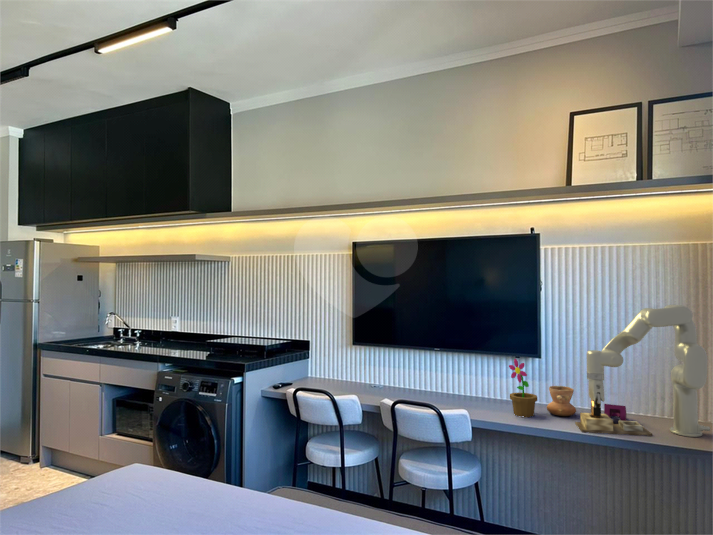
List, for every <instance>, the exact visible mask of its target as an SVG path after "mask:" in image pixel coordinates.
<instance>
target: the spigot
mask: <svg viewBox="0 0 713 535" xmlns="http://www.w3.org/2000/svg"><path fill="white" fill-rule="evenodd" d="M595 401H597V400H595ZM596 403H597V402H596ZM593 407H594V401H593V400H591V399H590V413H591V418H601V416H594V411H593Z"/></svg>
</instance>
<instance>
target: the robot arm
mask: <svg viewBox="0 0 713 535" xmlns="http://www.w3.org/2000/svg"><path fill="white" fill-rule="evenodd" d="M664 327H673V329H674V351H673V352H674V356H675V358H676V359H678V361H679V362H680V361H681V362H683V363H682V364H677V365H674V367H673V368H672V369H671V371H670V380H671V386H672V406H673V408H672V409H673V426H671V427H669V431H670V432H671V433H672V434H675V435H679V436H683V437H690V438H693V437H694V438H698V437H702V436H703V431H706V432H710V431H711V427H710V426H705V425H703V424H702V425H701V424H699V411H698V410H699V408H698V406H699V404H698V403H699V402H698V392H697V390H700V389H702V388H704V386H705V385H706V384H707V379H708V360H709V359H708V353H707V352H706V350H705V348H704V347H703V346H702V345H700V344H698V342H697V341H698V338H697V337H698V336H697V327H696V324H695V323H694V320H693V311H692V310H691V309H690V307H688V306H685V305H679V304H667V305H665V306H664V307H661V308H652V307H646V308H643V309H641V310H640V311H639V312H637V314H636V315H635V317H634V318H632V320H631V321H630V322H629V323H628V324H627V326H625V327H624V329H623V330H622V331H620V332H619V333H618V334H616V336H614V337H613V338H612V339H610V341H609V342H608V343H607V344H606V345H605V346H604V347H603V348H602V350H595V349H593V350H587V351H586V380H588V397H589V399H590V401H591V400H593V401H594V407H593V411H594V416H601V414H602V402H605V387H604V381H605V367H609V368H619V367H622V365H623V363H624V357H623V355H622V354H621V353H622V352H623V351H625V350H626V349H627V348H629V347H631V346H633V345H634V346H635V345H636V344H639V343H640V342H641V341H643V339H644V338H645V337H646V335H647V334H648V333H649V332H650V331H651V330H652V329H653V328H664ZM595 400H597V401H595ZM596 402H597V403H596Z"/></svg>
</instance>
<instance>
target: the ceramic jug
mask: <svg viewBox="0 0 713 535" xmlns="http://www.w3.org/2000/svg"><path fill="white" fill-rule="evenodd" d="M548 390H549V394H550V397H551V399H552V401H551V402H549V403H548V404H547V405H546V410H547V411H548V412H549V413H550V414H552V415H555V416H558V417H570V416H573V415H575V414H576V413H577V408H576V407H575V406H574V405H573V404H572V403H571V400H572V398H573V394H574V388H572V387H568V386H564V385H550V386H549V387H548Z"/></svg>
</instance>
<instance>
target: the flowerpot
mask: <svg viewBox="0 0 713 535" xmlns="http://www.w3.org/2000/svg"><path fill="white" fill-rule="evenodd" d="M513 364H514V365H512V364H509V365H508V368H509V369H510V370H512V371H513V372H512V373H511V374H510V375H511V376H510V377H511V379H514V378H516V379H517V382H518V383H521V385H519V386H517V387H516V388H517V389H518V390H520V391H521V392H512V393H509V399H510V401H511V403H512V410H513V415H514V414H515V415H514V416H516V415H517V416H516V417H519V416H524V417H523V418H531V417H530V416H533V417H534V416H535V407H536V402H538V395H537V394H534V393H530V392H525V388H529V386H530V385H529V382H528V381H526V380H524V377H527V376H528V374H527V373H526V371H524V370H523V369H524V367H525V362H522V363H520V364H519V360H518V359H517V358H514V360H513Z"/></svg>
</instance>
